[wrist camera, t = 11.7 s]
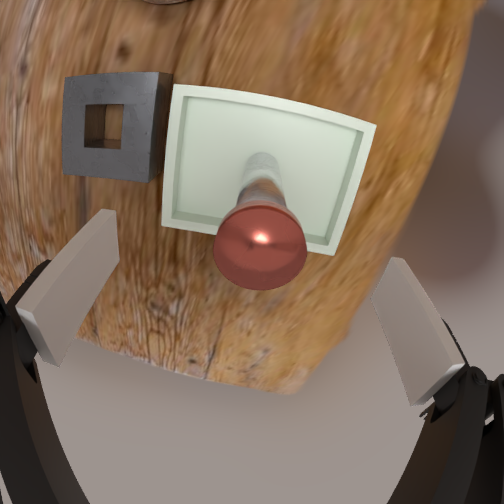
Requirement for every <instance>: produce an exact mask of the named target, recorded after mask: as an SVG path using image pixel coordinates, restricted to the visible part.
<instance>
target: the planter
mask: <svg viewBox="0 0 504 504" xmlns="http://www.w3.org/2000/svg"><path fill="white" fill-rule="evenodd" d="M143 1H146V2H150V3H155V4H172V3H179V2H183V1H187V0H143Z"/></svg>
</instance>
